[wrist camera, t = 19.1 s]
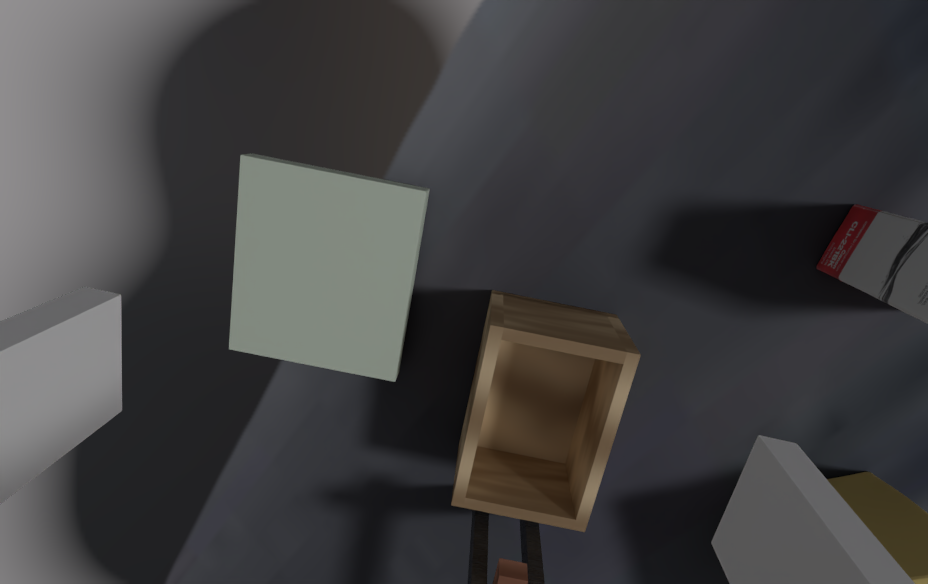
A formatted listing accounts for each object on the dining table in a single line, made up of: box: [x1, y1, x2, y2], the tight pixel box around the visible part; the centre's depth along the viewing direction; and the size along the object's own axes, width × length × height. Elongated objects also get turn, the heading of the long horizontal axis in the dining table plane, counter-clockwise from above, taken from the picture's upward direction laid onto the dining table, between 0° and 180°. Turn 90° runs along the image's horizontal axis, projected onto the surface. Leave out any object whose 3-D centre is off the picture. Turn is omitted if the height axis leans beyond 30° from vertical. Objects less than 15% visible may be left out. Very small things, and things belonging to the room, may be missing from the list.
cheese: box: [827, 472, 928, 584], centre depth 39 cm, size 10×11×10 cm
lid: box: [229, 153, 430, 382], centre depth 38 cm, size 14×12×3 cm
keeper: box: [468, 510, 544, 584], centre depth 39 cm, size 2×5×12 cm, turn 79°
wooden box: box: [451, 290, 640, 532], centre depth 38 cm, size 13×9×7 cm
